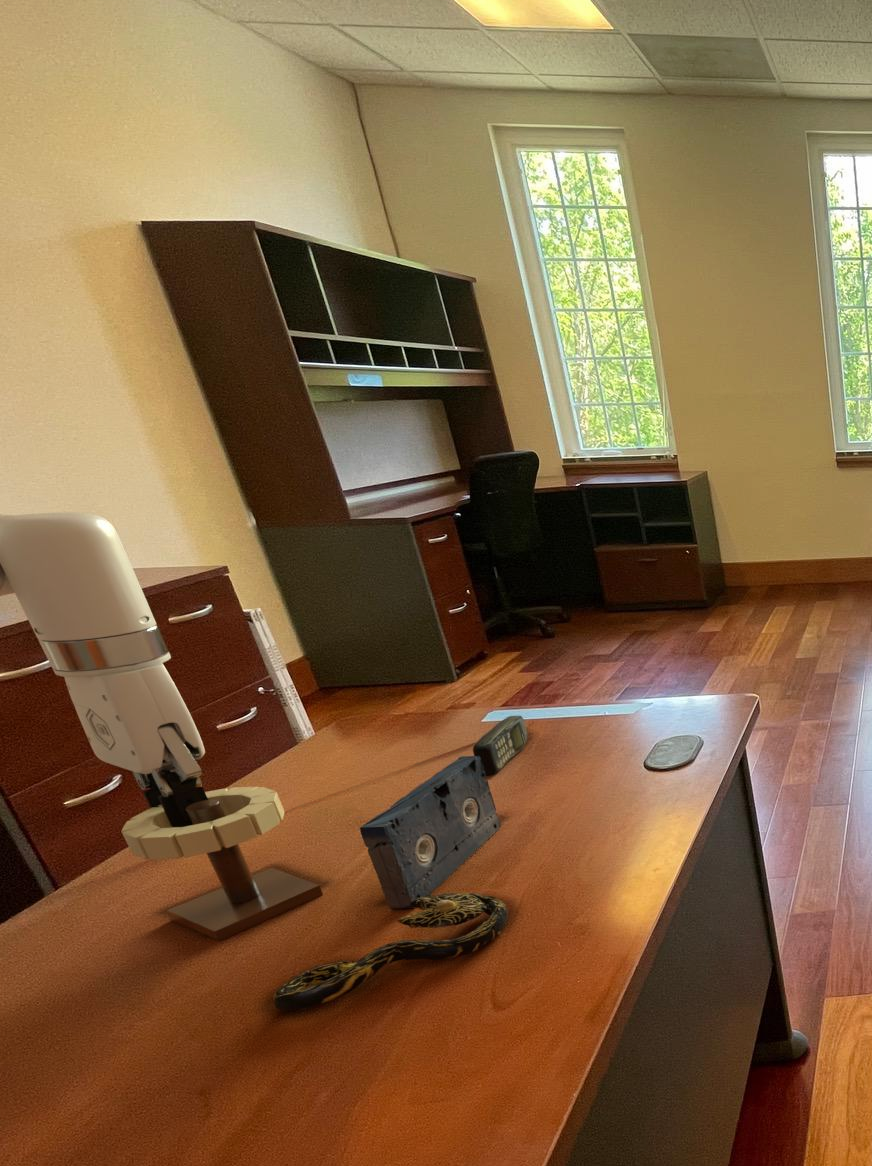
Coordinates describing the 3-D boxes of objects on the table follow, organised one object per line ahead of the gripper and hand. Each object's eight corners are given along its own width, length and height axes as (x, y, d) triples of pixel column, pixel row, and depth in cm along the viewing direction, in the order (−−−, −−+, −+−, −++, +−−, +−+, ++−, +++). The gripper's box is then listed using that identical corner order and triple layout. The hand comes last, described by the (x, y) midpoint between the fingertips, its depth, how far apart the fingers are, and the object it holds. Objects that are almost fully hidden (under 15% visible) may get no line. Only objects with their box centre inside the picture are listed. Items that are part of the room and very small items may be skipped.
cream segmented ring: (109, 845, 77) (98, 823, 76) (247, 799, 86) (239, 779, 85) (169, 869, 73) (159, 847, 72) (307, 818, 82) (299, 798, 81)
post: (171, 919, 81) (117, 815, 76) (275, 876, 89) (232, 779, 84) (219, 941, 78) (167, 833, 73) (323, 894, 85) (282, 794, 81)
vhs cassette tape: (481, 826, 99) (460, 755, 95) (506, 826, 100) (485, 754, 96) (384, 911, 83) (352, 828, 79) (413, 910, 83) (384, 827, 79)
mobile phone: (490, 745, 111) (528, 707, 125) (466, 747, 111) (507, 708, 124) (499, 777, 113) (536, 736, 127) (476, 778, 113) (515, 737, 126)
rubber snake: (257, 979, 65) (267, 931, 72) (274, 1026, 66) (283, 974, 74) (509, 908, 76) (496, 872, 83) (520, 950, 77) (506, 911, 84)
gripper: (9, 650, 73) (98, 823, 81) (95, 672, 68) (183, 856, 75) (119, 631, 80) (192, 794, 87) (206, 650, 74) (276, 822, 81)
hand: (187, 821), depth 81 cm, fingers closed on cream segmented ring, 2 cm apart
